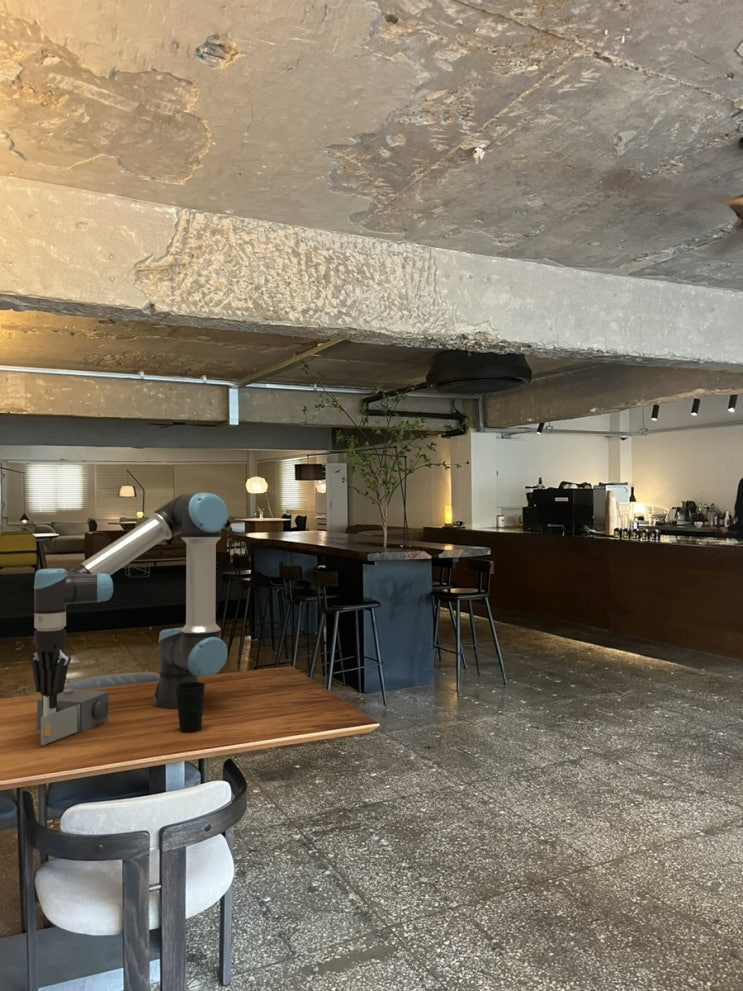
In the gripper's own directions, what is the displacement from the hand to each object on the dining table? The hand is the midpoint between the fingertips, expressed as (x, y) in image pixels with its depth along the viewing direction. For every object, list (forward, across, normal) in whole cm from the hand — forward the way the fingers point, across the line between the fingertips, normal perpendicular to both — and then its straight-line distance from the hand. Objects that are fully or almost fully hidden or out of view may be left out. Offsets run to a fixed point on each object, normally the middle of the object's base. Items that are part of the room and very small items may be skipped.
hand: (49, 720), depth 186 cm
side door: (+5, +1, +2) cm, 6 cm away
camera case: (+6, -7, +14) cm, 17 cm away
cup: (+6, +26, +23) cm, 36 cm away
